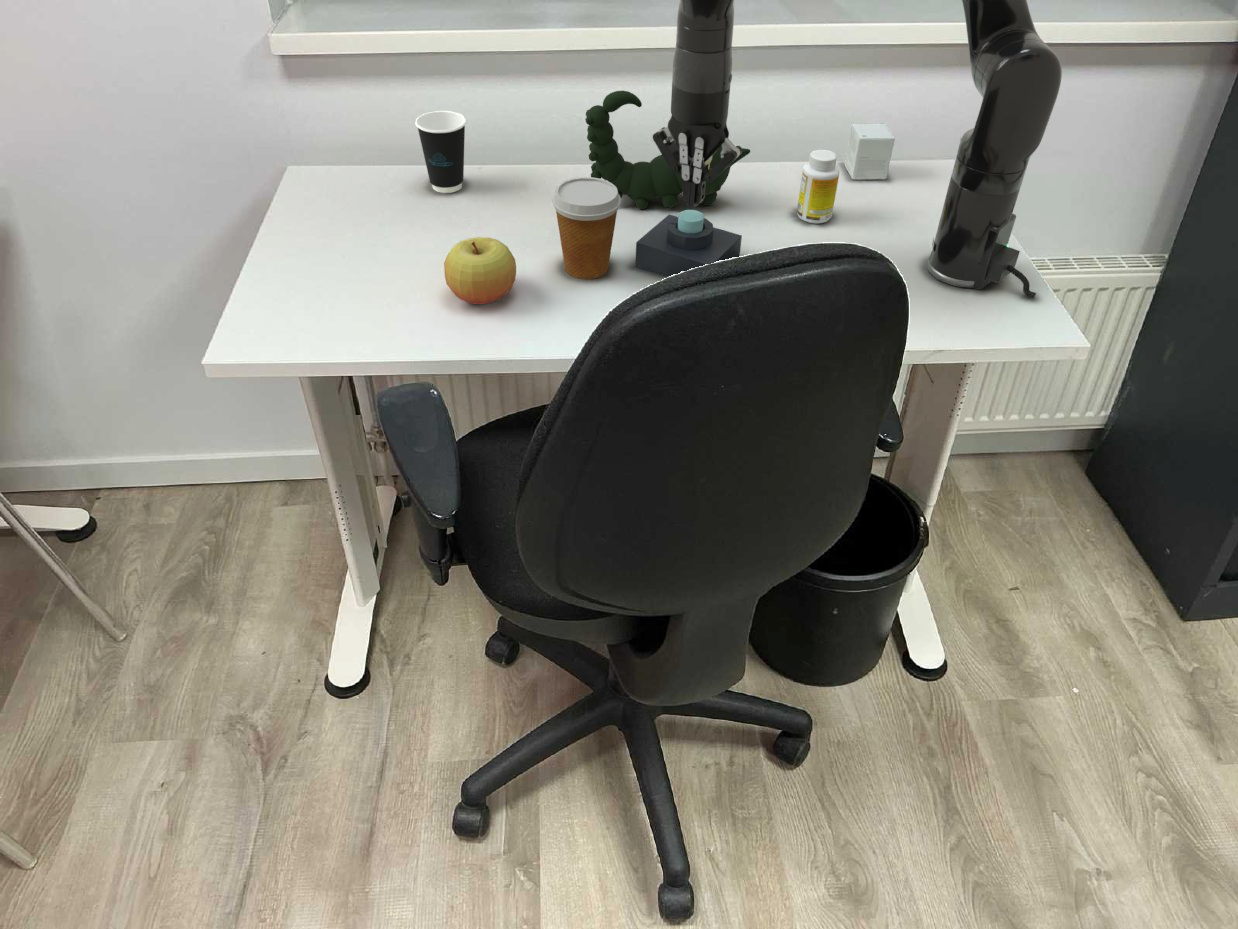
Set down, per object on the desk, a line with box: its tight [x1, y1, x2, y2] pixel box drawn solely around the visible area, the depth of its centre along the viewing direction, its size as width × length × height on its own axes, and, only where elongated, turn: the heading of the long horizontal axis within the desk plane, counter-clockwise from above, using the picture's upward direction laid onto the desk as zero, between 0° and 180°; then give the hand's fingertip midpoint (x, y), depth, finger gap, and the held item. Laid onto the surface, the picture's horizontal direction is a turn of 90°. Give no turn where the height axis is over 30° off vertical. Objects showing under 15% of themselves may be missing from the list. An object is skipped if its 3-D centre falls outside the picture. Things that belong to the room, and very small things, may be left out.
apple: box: [443, 236, 517, 305], centre depth 135 cm, size 10×10×8 cm
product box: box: [844, 123, 896, 181], centre depth 167 cm, size 6×6×7 cm
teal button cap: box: [677, 209, 705, 233], centre depth 141 cm, size 4×4×2 cm
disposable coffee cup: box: [551, 176, 622, 280], centre depth 140 cm, size 10×10×12 cm
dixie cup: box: [414, 110, 467, 194], centre depth 158 cm, size 8×8×11 cm
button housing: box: [634, 213, 743, 278], centre depth 143 cm, size 12×10×6 cm
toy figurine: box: [585, 90, 751, 210], centre depth 154 cm, size 9×19×25 cm
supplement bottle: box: [796, 149, 840, 224], centre depth 154 cm, size 6×6×10 cm
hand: (693, 203), depth 139 cm, fingers closed
